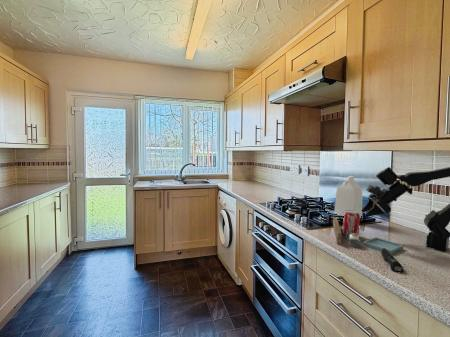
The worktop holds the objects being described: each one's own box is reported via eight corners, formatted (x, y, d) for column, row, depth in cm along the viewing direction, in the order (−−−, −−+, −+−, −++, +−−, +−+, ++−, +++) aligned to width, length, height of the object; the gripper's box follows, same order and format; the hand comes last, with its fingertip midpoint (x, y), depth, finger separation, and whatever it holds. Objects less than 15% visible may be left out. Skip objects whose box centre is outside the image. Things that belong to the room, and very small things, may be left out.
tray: (402, 249, 105) (403, 245, 105) (390, 254, 99) (390, 250, 99) (375, 240, 114) (375, 237, 114) (362, 245, 108) (363, 241, 108)
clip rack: (352, 227, 133) (352, 218, 132) (361, 247, 105) (362, 236, 105) (332, 225, 136) (333, 216, 136) (337, 244, 109) (337, 233, 108)
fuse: (359, 244, 109) (360, 234, 108) (355, 246, 107) (356, 236, 106) (352, 242, 112) (352, 232, 111) (347, 243, 110) (348, 233, 109)
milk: (353, 223, 140) (356, 178, 138) (333, 218, 149) (336, 176, 147) (362, 220, 148) (365, 176, 146) (342, 215, 157) (345, 175, 154)
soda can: (362, 238, 117) (363, 213, 116) (348, 238, 116) (350, 213, 115) (352, 232, 124) (353, 209, 123) (339, 233, 123) (340, 209, 122)
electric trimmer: (389, 256, 99) (389, 248, 98) (404, 274, 84) (405, 265, 84) (378, 254, 100) (379, 247, 100) (391, 272, 85) (392, 263, 85)
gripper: (374, 177, 123) (348, 197, 127) (384, 182, 105) (353, 204, 110) (392, 194, 121) (364, 213, 125) (404, 202, 103) (372, 224, 108)
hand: (363, 213), depth 117 cm, fingers open, 9 cm apart
